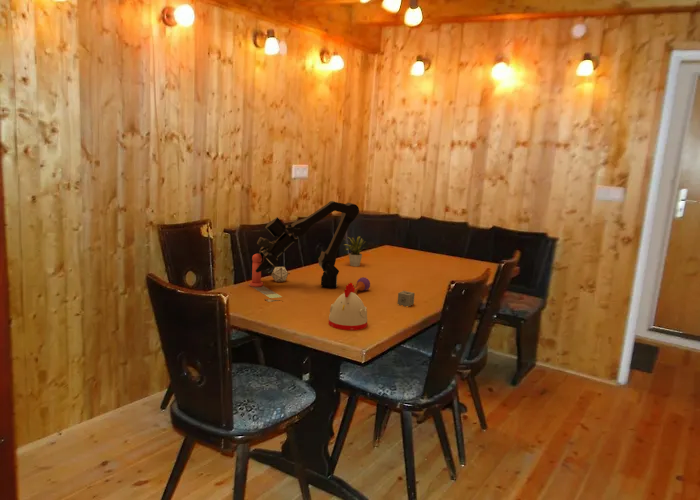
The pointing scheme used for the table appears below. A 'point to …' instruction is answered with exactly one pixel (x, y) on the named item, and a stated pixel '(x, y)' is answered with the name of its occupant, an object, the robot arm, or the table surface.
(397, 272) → the table surface
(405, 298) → the grey symbol cube
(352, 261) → the house plant
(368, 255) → the table surface
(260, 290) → the board
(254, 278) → the pawn
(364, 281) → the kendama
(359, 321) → the kitchen timer
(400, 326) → the table surface
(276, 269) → the game die
